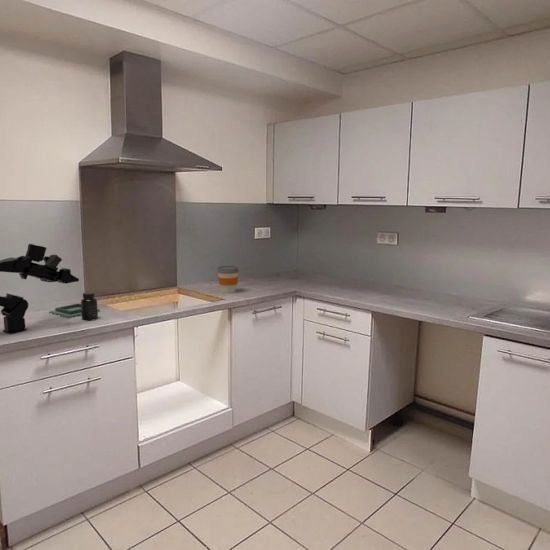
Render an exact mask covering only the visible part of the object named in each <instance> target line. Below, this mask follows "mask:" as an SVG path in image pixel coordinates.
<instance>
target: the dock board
mask: <svg viewBox="0 0 550 550" xmlns="http://www.w3.org/2000/svg"><path fill="white" fill-rule="evenodd" d="M97 309H98V311H99V312H101V309H99V308H97ZM50 313H52V314H51V315H54V314H56V315H55V316H58V315H60V316H59V317H62V316H63V317H62V318H66V317H67V318H66V319H73V318H77V317H76V316H78V317H81V316H80V315H82V313H81V303H79V302H78V303H74V304H70V305H63V306H58V307H55V309H54V310H49V312H48V314H50ZM72 317H73V318H72Z"/></svg>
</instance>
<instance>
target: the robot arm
mask: <svg viewBox="0 0 550 550" xmlns="http://www.w3.org/2000/svg"><path fill="white" fill-rule="evenodd" d="M47 248H48V247H45V246H42V245H38V244H37V245H36V244H32V243H29V244H28V245H27V250H26V254H25V255H20V256H18V257H8V258H4V259H1V260H0V272H1V273H15V274H16V273H17V274H18V275H19V277H20V278H21V279H22V280H27V278H28V276H29V277H33V278H36V279H38V280H40V281H41V282H44V283H56V282H57V283H59V284H69V283H70V284H71V283H76V282H77V283H78V282H79V281H80V278H78V277H76V276H75V275H73V274H72V271H71V269H69V268H64V267H63V268H62V267H61V268H60V269H59V267H58V266H59V264H61V262H62V260H63V258H61V257H60V256H59V255H58V254H50V255H49V256H46V255H45V254H46V251H47ZM43 261H44V264H40V262H43ZM0 307H1V308H2V309H1V310H0V313H1V315H2V316H3V327H4V329H2V332H3V333H7V334H15V333H20V332H24V331H27V328H26V319H25V315H26V311H27V310H28V308H29V302H28V300H27V299H24V297H23V296H20V295H14V294H10V293H6V296H4V295H3V296H1V295H0Z"/></svg>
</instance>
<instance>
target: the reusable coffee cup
mask: <svg viewBox="0 0 550 550" xmlns="http://www.w3.org/2000/svg"><path fill="white" fill-rule="evenodd" d="M217 273H218V274H217V275H218V277H217V279H218V285H219V287H220V293H222V294H235V293H236V292H237V285H238V280H239V266H234V265H233V266H232V265H225V266H224V265H223V266H218V267H217Z"/></svg>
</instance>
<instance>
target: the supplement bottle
mask: <svg viewBox="0 0 550 550" xmlns="http://www.w3.org/2000/svg"><path fill="white" fill-rule="evenodd" d="M80 304H81V313H82V316H81V319H82V320H83V321H93V320H92V319H95V320H97V319H98V318H99V312H98V309H99V308H98V299H96V297H95V292H93V291H88V292H87V291H86V292H82V299H81V300H80ZM96 318H97V319H96Z"/></svg>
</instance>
